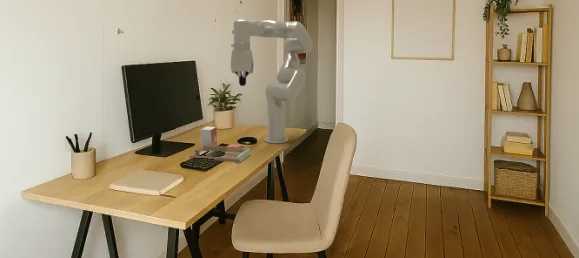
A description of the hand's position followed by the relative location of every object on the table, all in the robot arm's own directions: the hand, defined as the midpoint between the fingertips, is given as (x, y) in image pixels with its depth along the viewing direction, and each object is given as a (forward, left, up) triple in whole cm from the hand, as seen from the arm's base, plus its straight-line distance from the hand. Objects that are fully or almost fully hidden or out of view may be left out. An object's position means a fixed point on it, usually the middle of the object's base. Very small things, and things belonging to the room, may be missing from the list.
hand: (242, 85), depth 205 cm
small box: (+1, -18, -32) cm, 37 cm away
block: (+13, 0, -32) cm, 34 cm away
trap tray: (+15, -6, -32) cm, 36 cm away
